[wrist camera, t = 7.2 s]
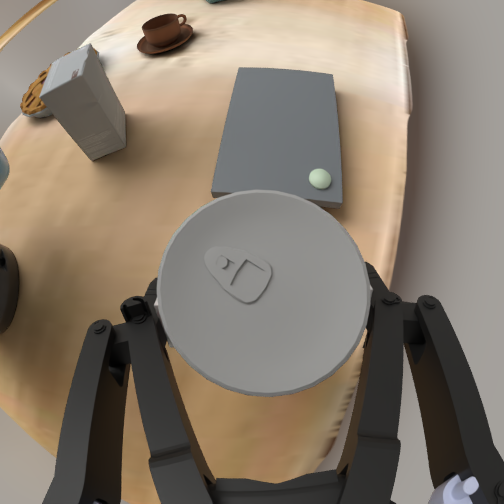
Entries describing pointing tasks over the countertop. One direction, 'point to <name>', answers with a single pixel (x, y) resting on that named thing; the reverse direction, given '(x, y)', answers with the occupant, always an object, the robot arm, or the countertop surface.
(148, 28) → the cup and saucer
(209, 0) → the flower pot
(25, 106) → the pie
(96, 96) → the skincare box
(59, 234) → the countertop surface
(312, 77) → the plate
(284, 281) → the canned food
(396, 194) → the countertop surface
